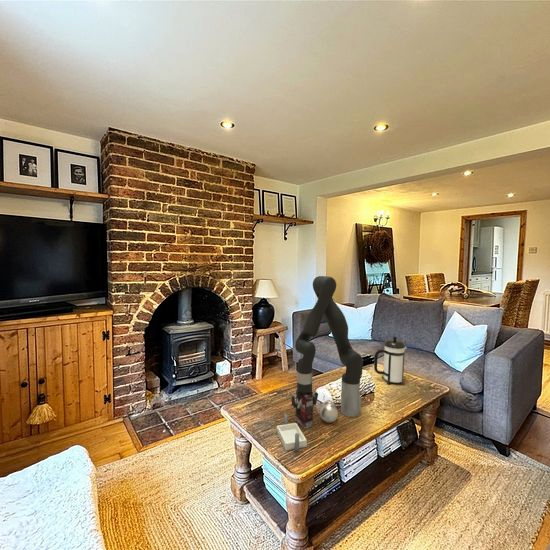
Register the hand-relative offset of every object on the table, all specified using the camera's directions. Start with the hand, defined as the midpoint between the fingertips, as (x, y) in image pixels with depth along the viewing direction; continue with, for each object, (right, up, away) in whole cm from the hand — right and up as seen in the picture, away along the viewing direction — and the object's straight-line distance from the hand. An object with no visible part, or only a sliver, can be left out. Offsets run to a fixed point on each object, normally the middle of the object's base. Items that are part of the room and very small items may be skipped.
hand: (303, 413), depth 148 cm
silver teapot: (+13, -5, +3) cm, 14 cm away
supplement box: (0, -5, 0) cm, 5 cm away
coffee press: (+62, -2, +48) cm, 78 cm away
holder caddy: (-7, -6, -12) cm, 15 cm away
